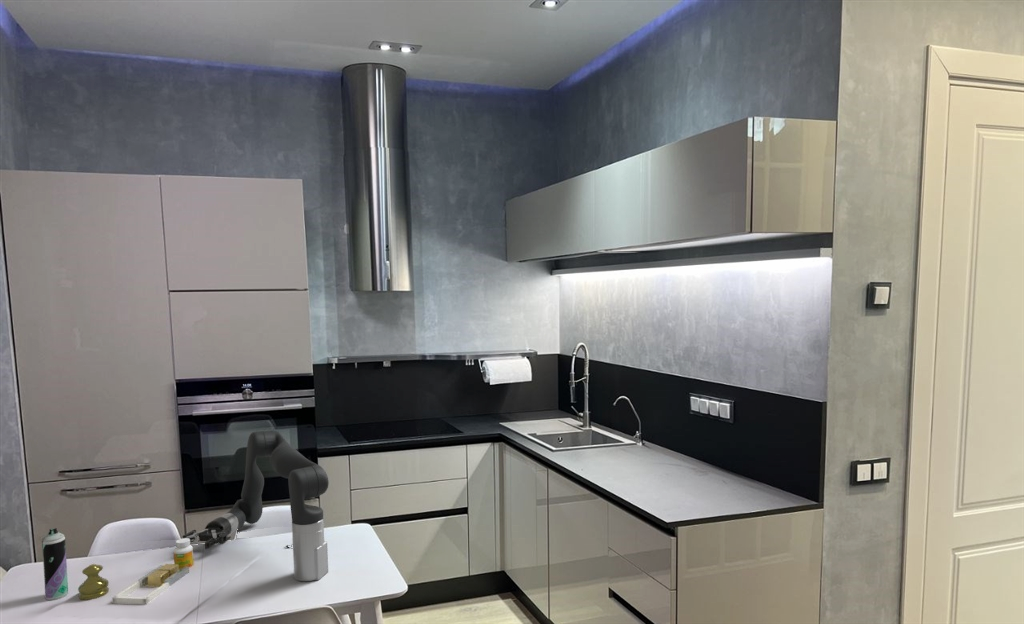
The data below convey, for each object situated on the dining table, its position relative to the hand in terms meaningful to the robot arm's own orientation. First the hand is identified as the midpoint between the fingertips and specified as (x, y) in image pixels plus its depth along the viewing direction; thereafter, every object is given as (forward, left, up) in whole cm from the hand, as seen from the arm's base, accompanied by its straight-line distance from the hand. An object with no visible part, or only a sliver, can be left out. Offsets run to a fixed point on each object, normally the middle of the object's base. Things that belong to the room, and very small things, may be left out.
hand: (193, 545), depth 211 cm
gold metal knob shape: (+13, +26, -6) cm, 30 cm away
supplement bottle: (0, +5, -6) cm, 8 cm away
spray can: (+26, +26, -6) cm, 37 cm away
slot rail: (-1, +15, -6) cm, 16 cm away
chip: (-1, +13, -4) cm, 13 cm away
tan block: (-1, +17, -4) cm, 18 cm away
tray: (-2, +25, -6) cm, 25 cm away
